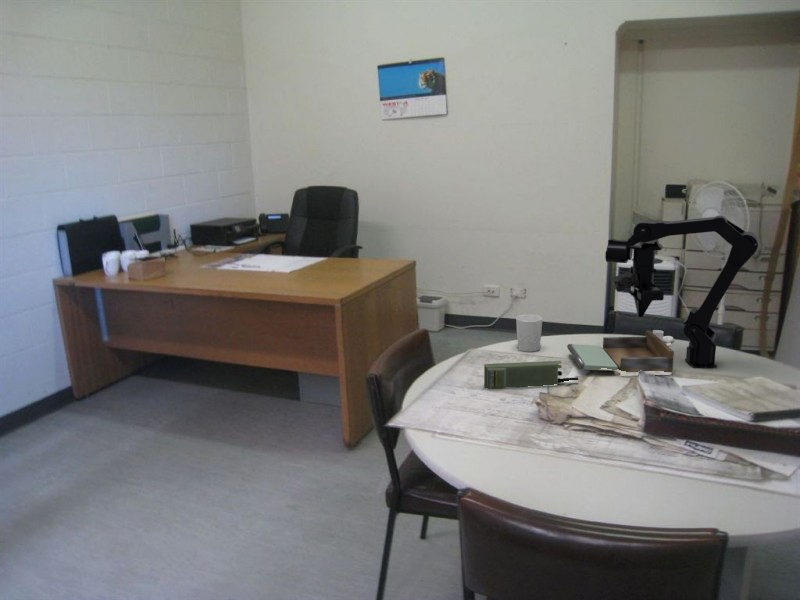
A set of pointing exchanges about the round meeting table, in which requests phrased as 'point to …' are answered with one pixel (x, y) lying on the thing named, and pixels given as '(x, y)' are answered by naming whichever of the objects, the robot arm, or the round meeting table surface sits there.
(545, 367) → the handheld radio
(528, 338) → the white cup
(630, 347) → the brown and grey drawer
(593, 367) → the panel
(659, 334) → the teacup and saucer
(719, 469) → the round meeting table surface
